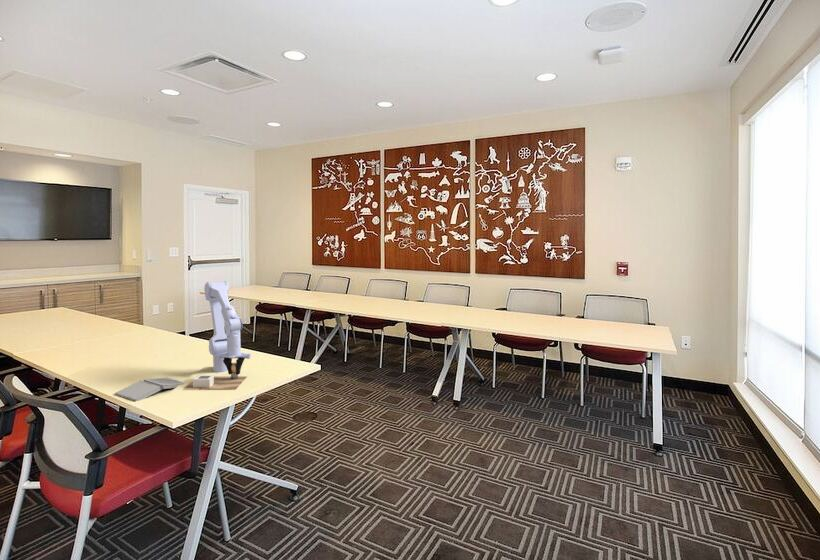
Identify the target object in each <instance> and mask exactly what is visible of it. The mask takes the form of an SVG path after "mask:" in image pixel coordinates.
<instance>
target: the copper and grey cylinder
mask: <svg viewBox="0 0 820 560" xmlns="http://www.w3.org/2000/svg"><path fill="white" fill-rule="evenodd" d="M230 368H231V374H230V376H231V379H232V380H234V379H238V376H239V374H237V363H236V362H232V363H231V364H230Z"/></svg>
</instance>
